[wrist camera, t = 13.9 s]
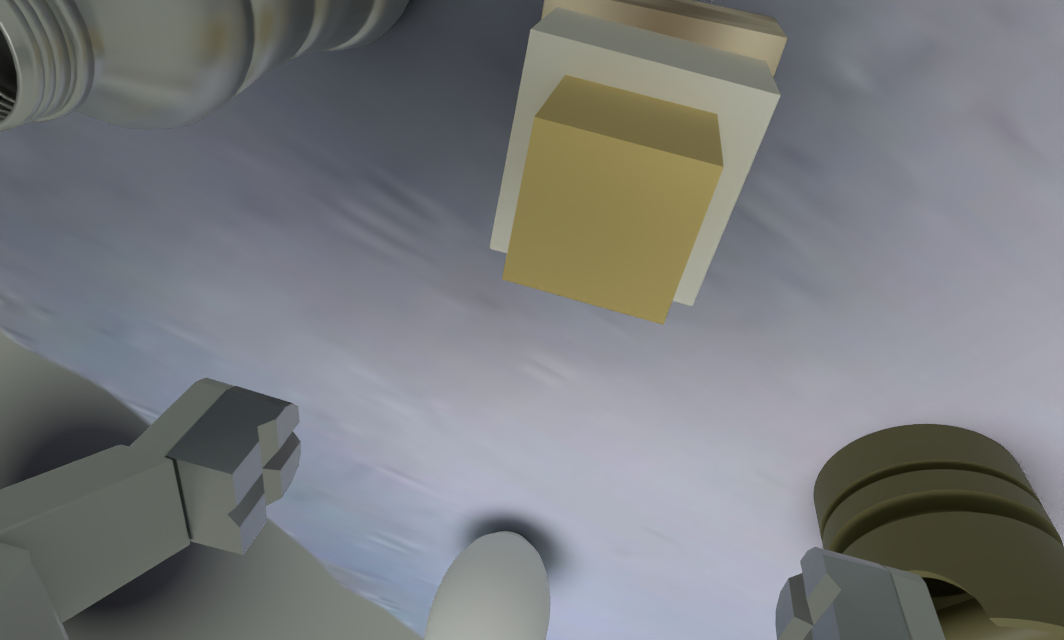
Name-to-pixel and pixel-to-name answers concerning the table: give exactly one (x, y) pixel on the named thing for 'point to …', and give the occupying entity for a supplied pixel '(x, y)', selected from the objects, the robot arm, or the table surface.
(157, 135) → the table surface
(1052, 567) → the piston
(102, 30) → the plastic bottle
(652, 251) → the mustard cube
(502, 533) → the air blower bulb
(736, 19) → the birch tower base
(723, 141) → the painted tower top
